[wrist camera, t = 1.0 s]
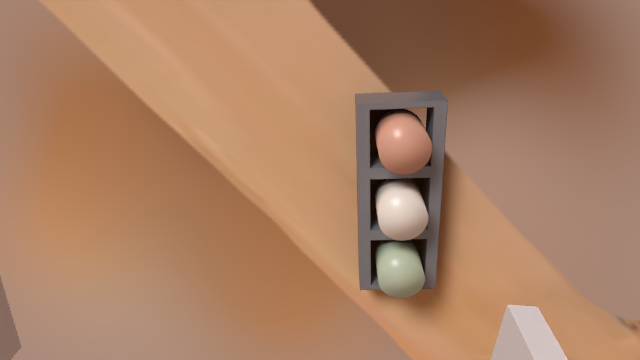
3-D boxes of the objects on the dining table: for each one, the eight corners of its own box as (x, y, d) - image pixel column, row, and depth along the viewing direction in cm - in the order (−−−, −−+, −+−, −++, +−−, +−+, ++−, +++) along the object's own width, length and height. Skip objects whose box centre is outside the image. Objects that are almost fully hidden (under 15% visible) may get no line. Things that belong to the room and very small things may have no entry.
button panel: (355, 94, 38) (356, 104, 36) (440, 90, 38) (447, 100, 35) (358, 270, 46) (360, 289, 43) (429, 269, 46) (435, 288, 43)
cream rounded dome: (374, 177, 40) (378, 198, 36) (421, 175, 40) (429, 196, 36) (374, 217, 41) (378, 241, 38) (419, 215, 41) (427, 240, 38)
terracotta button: (374, 110, 37) (378, 125, 34) (424, 108, 37) (433, 123, 33) (374, 155, 39) (378, 175, 35) (422, 154, 39) (430, 173, 35)
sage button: (374, 235, 42) (378, 261, 39) (418, 234, 42) (426, 260, 38) (375, 271, 44) (378, 298, 40) (416, 270, 44) (424, 297, 40)
